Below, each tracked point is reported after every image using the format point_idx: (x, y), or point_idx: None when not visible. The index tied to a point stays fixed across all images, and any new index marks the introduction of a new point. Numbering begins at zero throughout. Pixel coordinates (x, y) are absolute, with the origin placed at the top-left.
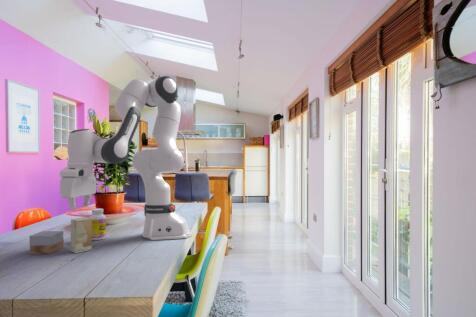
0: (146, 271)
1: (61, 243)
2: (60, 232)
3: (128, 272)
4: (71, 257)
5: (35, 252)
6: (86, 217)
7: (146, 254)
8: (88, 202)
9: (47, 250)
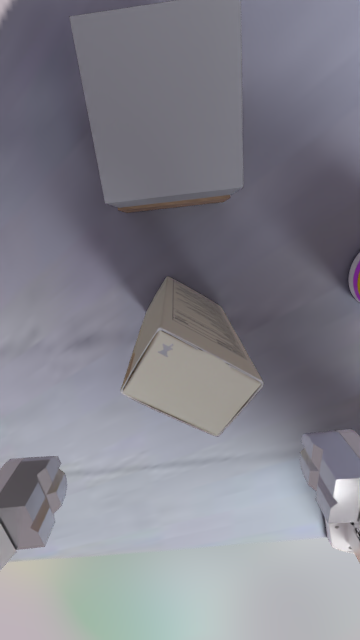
0: None
1: (208, 201)
2: (210, 191)
3: None
4: (103, 323)
5: None
6: (246, 393)
7: (166, 500)
8: (351, 512)
9: None
